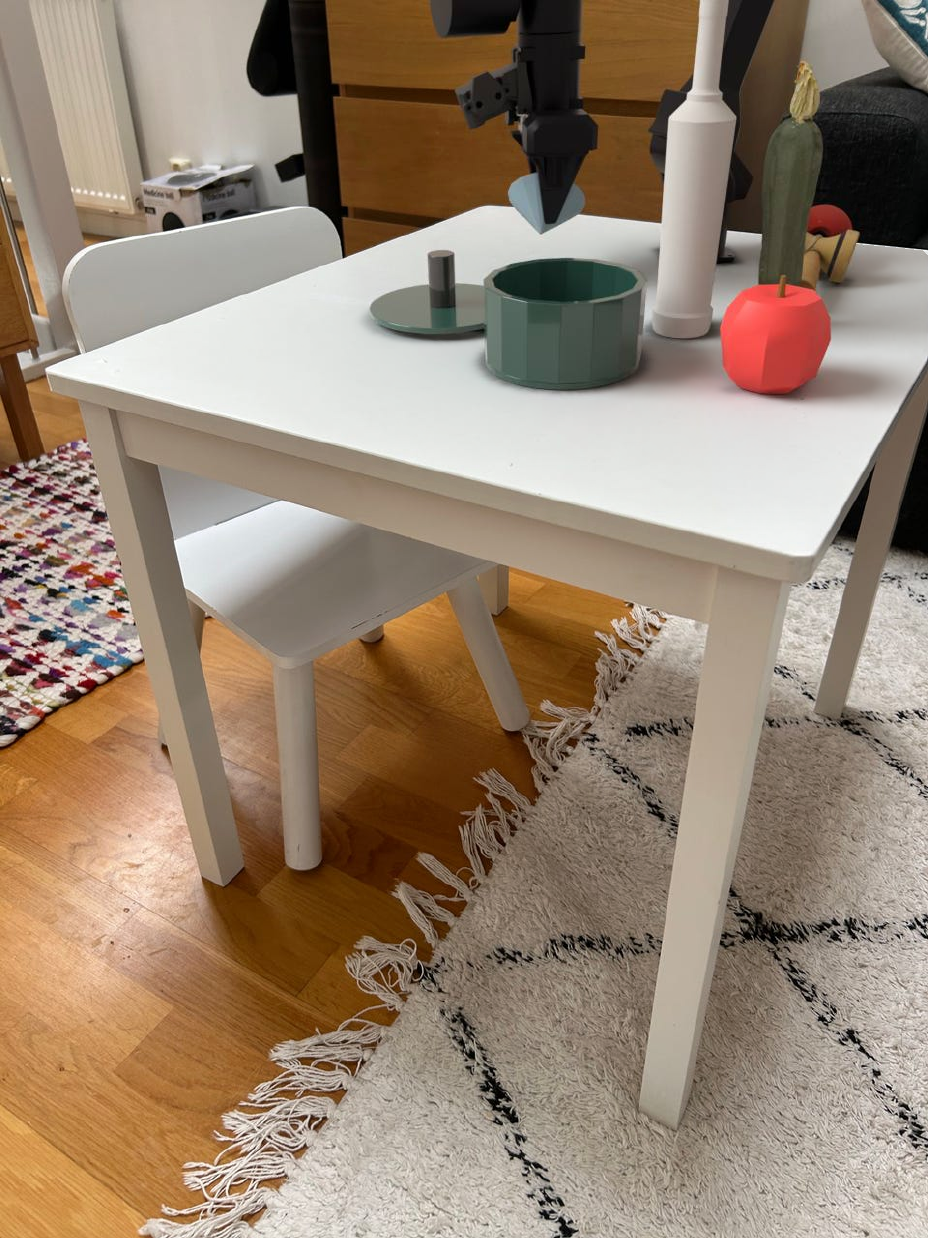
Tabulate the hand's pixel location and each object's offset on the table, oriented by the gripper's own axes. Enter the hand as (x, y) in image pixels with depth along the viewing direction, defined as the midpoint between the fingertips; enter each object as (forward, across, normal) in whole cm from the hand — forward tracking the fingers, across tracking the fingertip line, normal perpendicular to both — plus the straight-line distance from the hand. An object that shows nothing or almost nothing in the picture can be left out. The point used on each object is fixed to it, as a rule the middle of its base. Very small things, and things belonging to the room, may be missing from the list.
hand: (546, 216), depth 94 cm
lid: (+5, +11, -11) cm, 16 cm away
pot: (+6, +24, -2) cm, 25 cm away
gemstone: (+1, 0, 0) cm, 1 cm away
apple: (+6, +31, +13) cm, 34 cm away
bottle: (+6, +18, +9) cm, 21 cm away
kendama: (+6, +7, +25) cm, 26 cm away
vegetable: (+6, +18, +17) cm, 26 cm away
